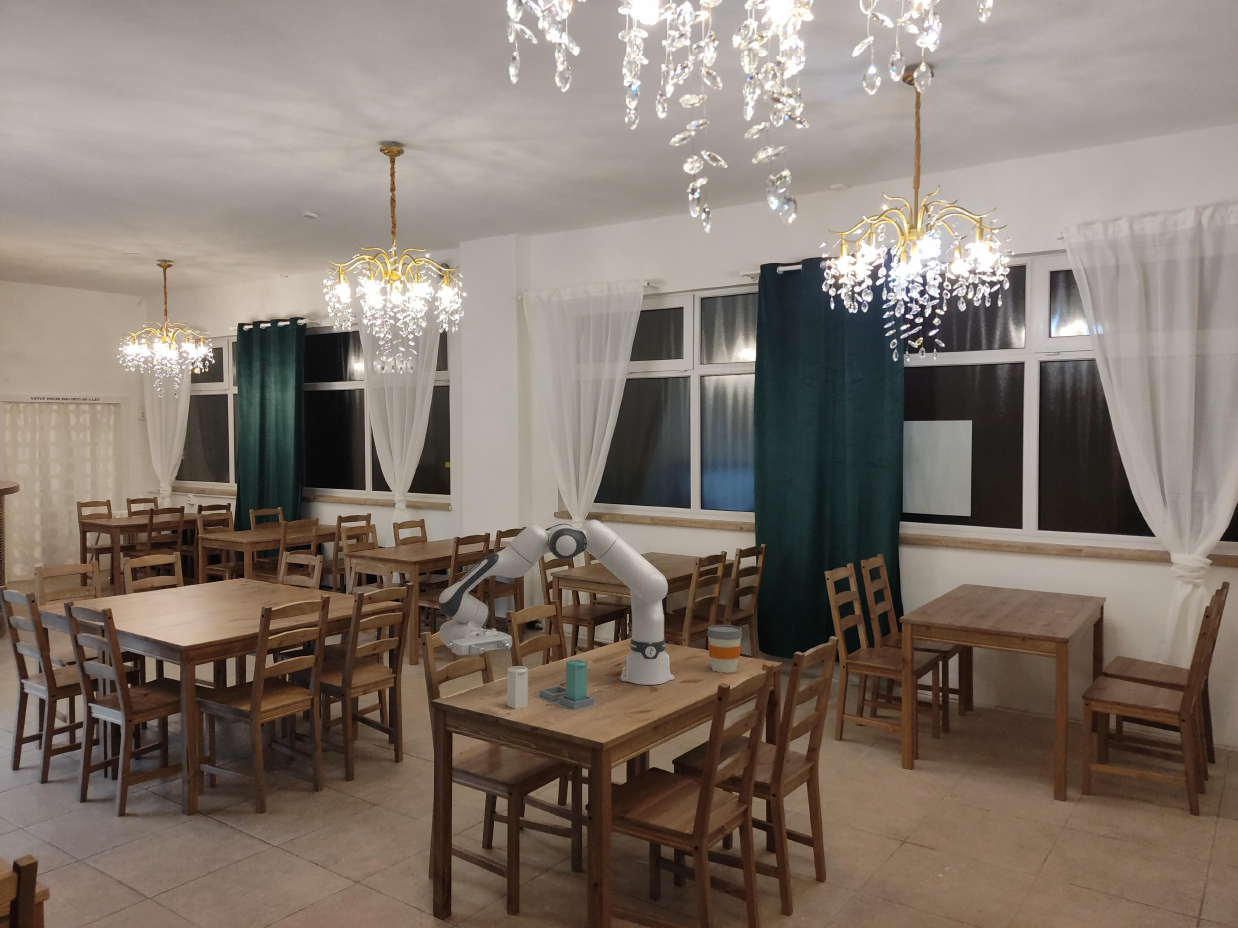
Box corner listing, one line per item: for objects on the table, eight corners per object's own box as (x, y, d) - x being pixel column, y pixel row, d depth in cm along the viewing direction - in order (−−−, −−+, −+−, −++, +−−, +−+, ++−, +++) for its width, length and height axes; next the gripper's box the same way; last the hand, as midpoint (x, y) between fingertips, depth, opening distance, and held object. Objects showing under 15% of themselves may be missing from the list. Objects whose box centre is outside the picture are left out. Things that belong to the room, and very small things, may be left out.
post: (504, 710, 268) (504, 667, 268) (519, 706, 272) (519, 665, 272) (515, 714, 264) (515, 671, 264) (530, 710, 268) (530, 668, 268)
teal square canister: (563, 703, 271) (563, 661, 270) (577, 699, 275) (577, 658, 274) (574, 707, 267) (575, 665, 266) (589, 704, 270) (589, 662, 270)
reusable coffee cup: (743, 666, 323) (743, 625, 323) (739, 675, 311) (740, 632, 311) (709, 663, 326) (710, 623, 326) (704, 672, 314) (704, 630, 314)
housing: (534, 700, 279) (534, 689, 278) (559, 694, 285) (559, 684, 285) (573, 715, 264) (573, 704, 263) (599, 709, 270) (599, 697, 270)
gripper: (444, 635, 280) (467, 643, 270) (498, 627, 294) (521, 634, 283) (443, 654, 280) (466, 663, 270) (497, 646, 294) (521, 654, 283)
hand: (495, 648), depth 277 cm, fingers open, 8 cm apart
